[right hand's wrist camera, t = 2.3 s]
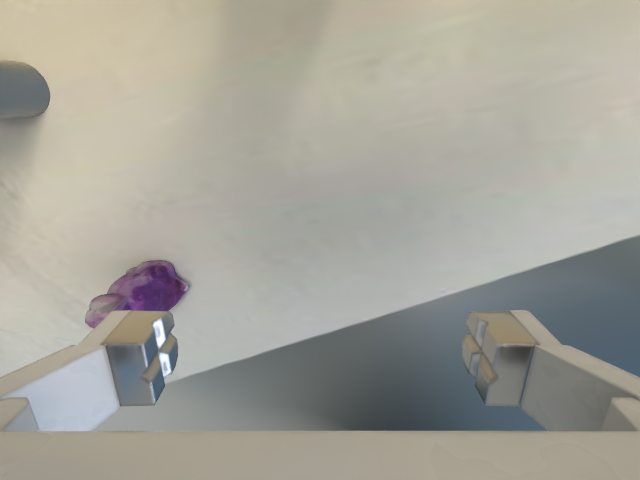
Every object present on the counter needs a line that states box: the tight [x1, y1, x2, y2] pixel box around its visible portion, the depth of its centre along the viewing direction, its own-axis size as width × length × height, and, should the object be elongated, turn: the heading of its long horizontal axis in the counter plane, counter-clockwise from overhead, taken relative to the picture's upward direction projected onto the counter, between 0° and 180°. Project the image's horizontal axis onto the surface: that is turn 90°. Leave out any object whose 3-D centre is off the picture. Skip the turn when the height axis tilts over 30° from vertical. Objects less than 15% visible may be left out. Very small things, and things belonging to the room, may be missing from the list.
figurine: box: [85, 261, 188, 328], centre depth 56 cm, size 9×10×15 cm
